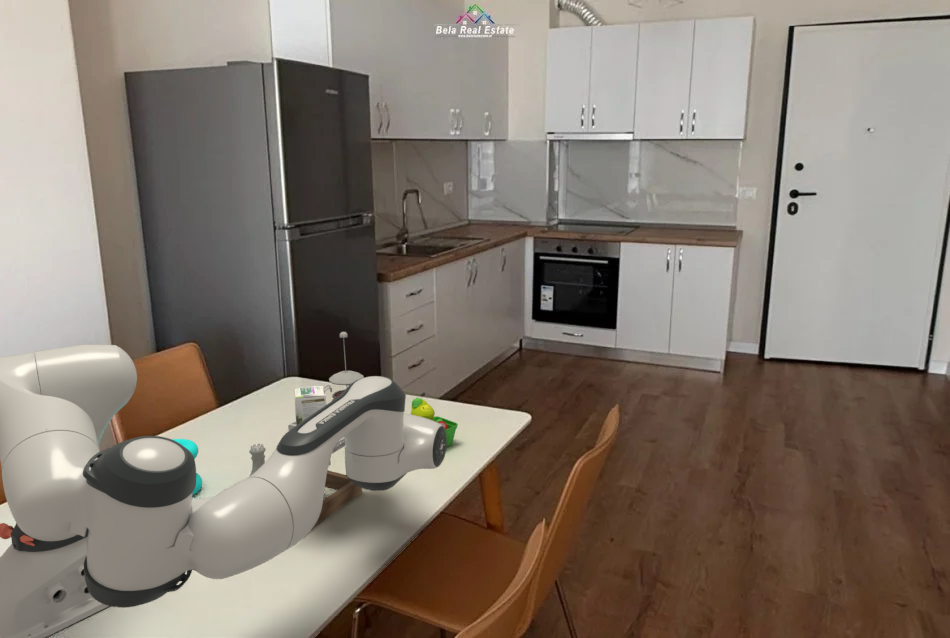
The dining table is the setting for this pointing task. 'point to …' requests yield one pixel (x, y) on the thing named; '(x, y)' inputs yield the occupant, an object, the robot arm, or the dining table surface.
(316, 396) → the syrup box
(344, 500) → the wooden divided tray
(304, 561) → the dining table surface
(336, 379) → the french press
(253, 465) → the rook chess piece
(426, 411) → the fruit basket
